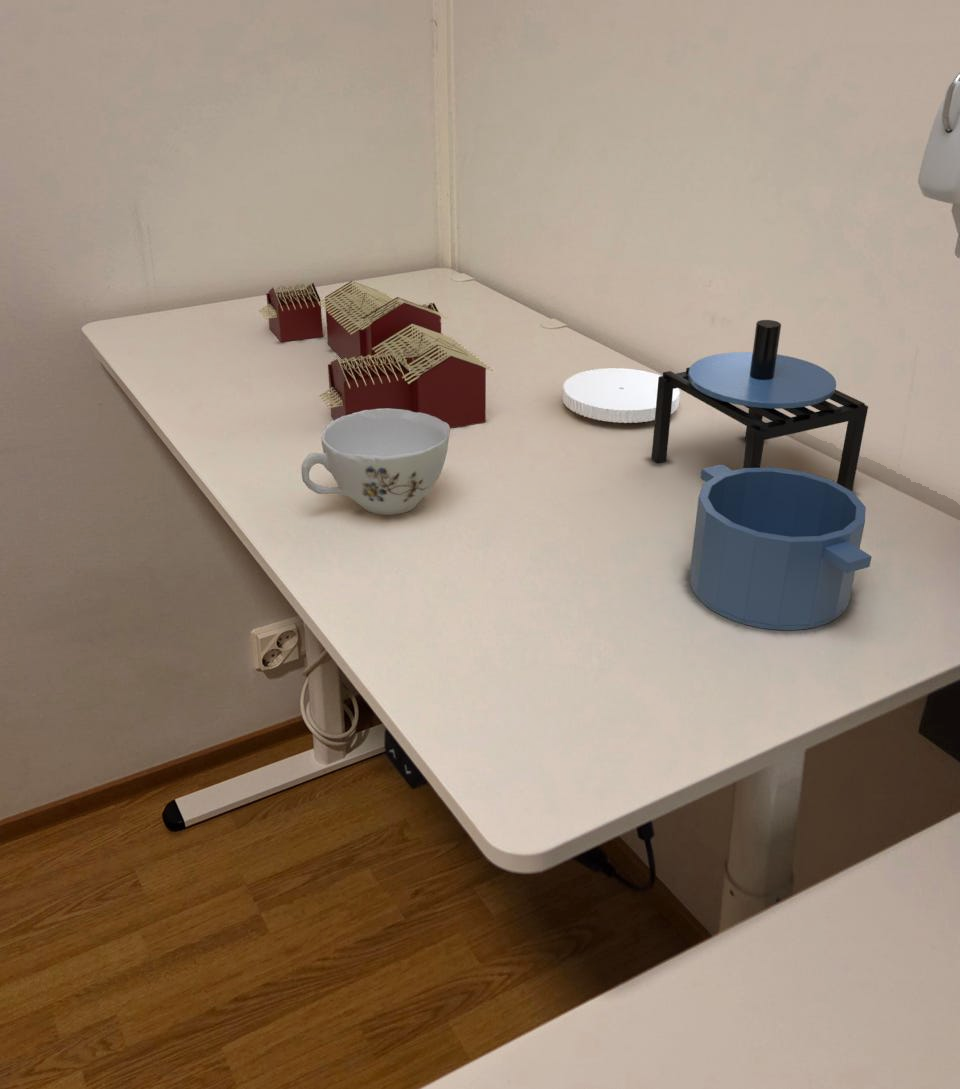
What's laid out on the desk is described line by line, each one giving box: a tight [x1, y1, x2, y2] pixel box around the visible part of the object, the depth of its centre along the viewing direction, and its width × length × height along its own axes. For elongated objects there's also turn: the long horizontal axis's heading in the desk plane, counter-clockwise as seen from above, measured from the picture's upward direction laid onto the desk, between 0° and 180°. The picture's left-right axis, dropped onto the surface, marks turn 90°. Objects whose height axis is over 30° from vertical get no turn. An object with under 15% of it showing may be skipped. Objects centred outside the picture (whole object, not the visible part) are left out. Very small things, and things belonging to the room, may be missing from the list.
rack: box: [650, 366, 869, 492], centre depth 115 cm, size 14×16×10 cm
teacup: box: [301, 408, 452, 516], centre depth 109 cm, size 15×12×8 cm
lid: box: [688, 319, 837, 410], centre depth 111 cm, size 15×15×7 cm
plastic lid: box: [561, 367, 681, 424], centre depth 133 cm, size 14×14×2 cm
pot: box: [689, 464, 873, 631], centre depth 95 cm, size 14×19×8 cm
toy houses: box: [258, 280, 494, 429], centre depth 142 cm, size 45×20×10 cm, turn 24°
